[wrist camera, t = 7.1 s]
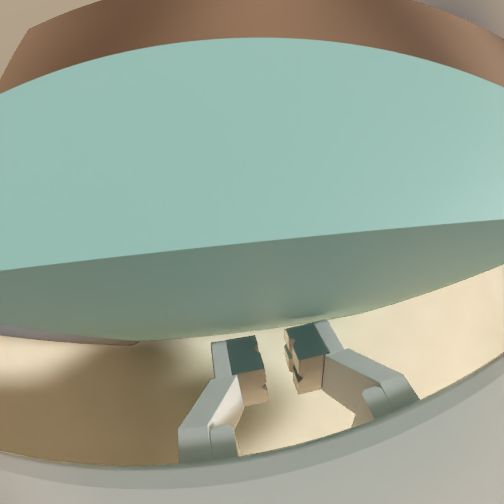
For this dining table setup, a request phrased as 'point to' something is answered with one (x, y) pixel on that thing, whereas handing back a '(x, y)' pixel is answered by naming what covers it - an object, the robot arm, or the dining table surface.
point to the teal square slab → (241, 188)
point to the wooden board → (254, 31)
